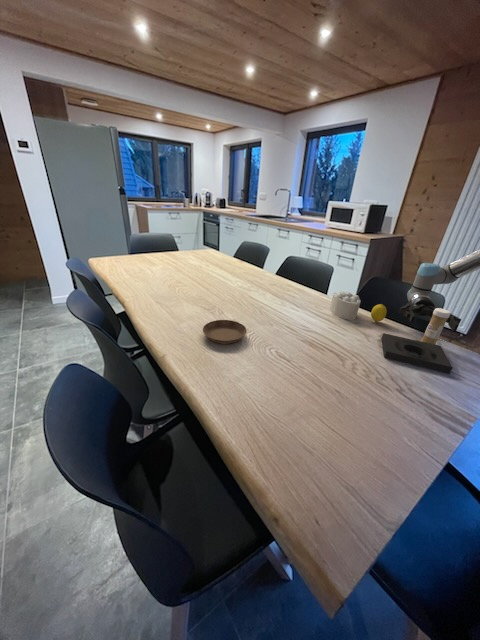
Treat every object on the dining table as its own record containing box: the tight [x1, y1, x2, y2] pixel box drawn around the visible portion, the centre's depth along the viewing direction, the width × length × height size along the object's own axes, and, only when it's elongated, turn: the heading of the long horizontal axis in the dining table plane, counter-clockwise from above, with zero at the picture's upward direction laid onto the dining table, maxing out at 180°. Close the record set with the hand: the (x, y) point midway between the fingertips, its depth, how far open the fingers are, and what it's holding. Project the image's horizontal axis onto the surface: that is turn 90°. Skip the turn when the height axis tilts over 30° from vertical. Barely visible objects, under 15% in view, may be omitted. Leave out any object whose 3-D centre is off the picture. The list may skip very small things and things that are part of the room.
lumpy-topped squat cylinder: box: [329, 291, 362, 321], centre depth 115 cm, size 10×13×9 cm
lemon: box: [370, 303, 388, 323], centre depth 109 cm, size 6×6×8 cm
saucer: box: [202, 319, 247, 345], centre depth 90 cm, size 15×15×3 cm
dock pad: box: [380, 332, 453, 375], centre depth 88 cm, size 18×14×2 cm
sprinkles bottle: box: [420, 307, 451, 345], centre depth 93 cm, size 5×5×13 cm
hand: (433, 324), depth 95 cm, fingers open, 13 cm apart
